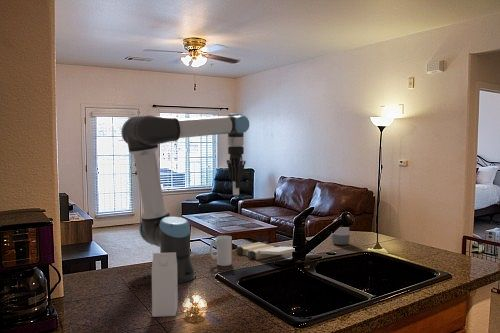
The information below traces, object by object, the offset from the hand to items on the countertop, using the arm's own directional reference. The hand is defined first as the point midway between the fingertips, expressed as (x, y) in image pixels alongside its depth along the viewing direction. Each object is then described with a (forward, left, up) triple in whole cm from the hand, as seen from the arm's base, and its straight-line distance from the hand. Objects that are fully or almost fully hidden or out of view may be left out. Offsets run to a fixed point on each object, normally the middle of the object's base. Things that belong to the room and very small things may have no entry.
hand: (235, 194), depth 198 cm
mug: (-10, -18, -29) cm, 35 cm away
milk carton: (-34, -65, -29) cm, 79 cm away
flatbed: (+10, -4, -28) cm, 30 cm away
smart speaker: (+57, +5, -29) cm, 64 cm away
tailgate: (+14, -12, -25) cm, 31 cm away
